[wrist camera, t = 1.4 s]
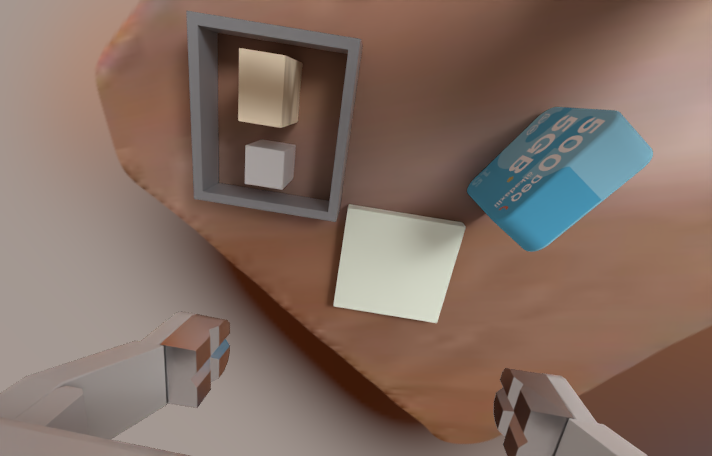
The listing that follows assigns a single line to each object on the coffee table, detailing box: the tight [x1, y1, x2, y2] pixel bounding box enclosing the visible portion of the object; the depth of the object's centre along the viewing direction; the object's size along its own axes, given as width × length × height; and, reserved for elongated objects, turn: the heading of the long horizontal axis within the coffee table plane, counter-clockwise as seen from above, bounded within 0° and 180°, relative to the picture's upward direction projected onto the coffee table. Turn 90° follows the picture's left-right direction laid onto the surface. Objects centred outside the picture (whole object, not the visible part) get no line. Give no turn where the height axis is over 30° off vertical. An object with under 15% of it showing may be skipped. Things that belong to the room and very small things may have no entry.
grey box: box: [245, 139, 296, 190], centre depth 36 cm, size 4×4×5 cm
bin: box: [187, 11, 363, 222], centre depth 35 cm, size 18×16×4 cm
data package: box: [467, 107, 653, 252], centre depth 31 cm, size 12×4×12 cm, turn 140°
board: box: [333, 204, 466, 323], centre depth 42 cm, size 14×14×2 cm
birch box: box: [238, 48, 302, 128], centre depth 32 cm, size 6×4×7 cm, turn 171°
